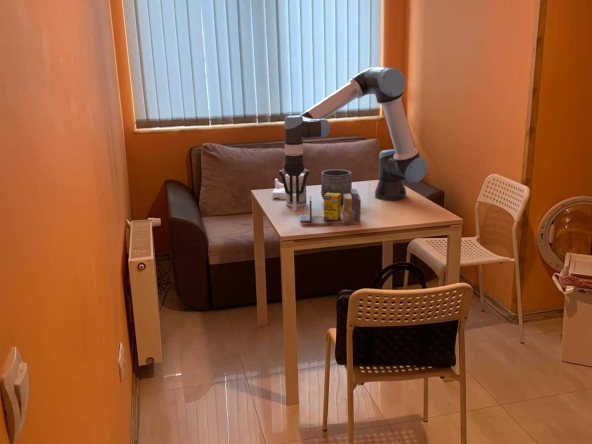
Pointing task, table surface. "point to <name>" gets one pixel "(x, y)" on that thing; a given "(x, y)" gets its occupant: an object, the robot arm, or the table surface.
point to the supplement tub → (301, 196)
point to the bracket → (279, 190)
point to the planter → (336, 182)
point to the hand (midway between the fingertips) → (294, 209)
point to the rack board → (333, 223)
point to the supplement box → (332, 206)
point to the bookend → (307, 217)
